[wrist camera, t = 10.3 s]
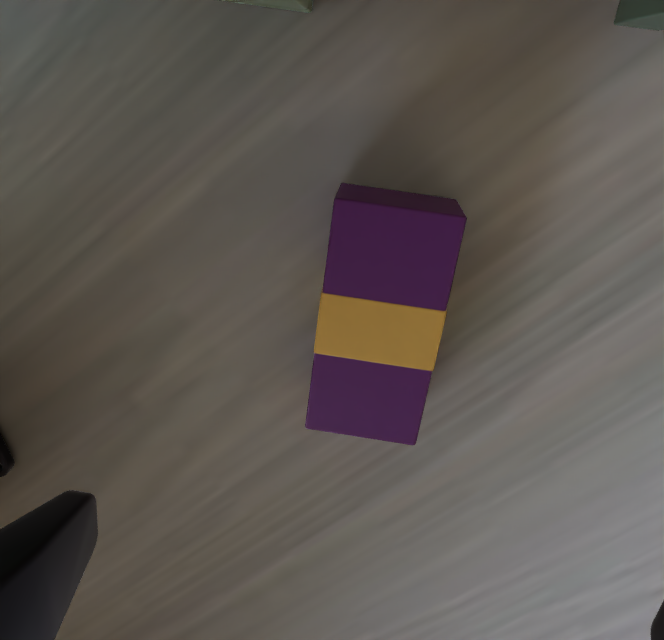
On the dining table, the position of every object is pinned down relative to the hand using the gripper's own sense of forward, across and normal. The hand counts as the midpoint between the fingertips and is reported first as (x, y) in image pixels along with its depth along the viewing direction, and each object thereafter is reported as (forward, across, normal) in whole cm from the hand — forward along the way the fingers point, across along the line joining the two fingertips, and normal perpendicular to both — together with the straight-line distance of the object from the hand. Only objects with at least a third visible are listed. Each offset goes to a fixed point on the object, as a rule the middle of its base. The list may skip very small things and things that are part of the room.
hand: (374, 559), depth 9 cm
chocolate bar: (+11, 0, 0) cm, 11 cm away
